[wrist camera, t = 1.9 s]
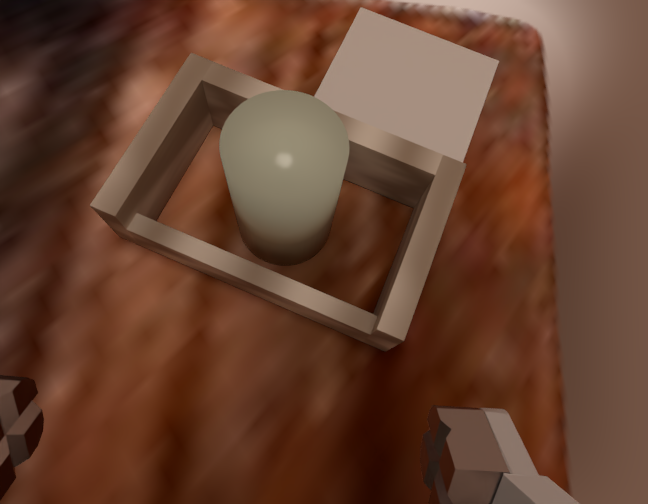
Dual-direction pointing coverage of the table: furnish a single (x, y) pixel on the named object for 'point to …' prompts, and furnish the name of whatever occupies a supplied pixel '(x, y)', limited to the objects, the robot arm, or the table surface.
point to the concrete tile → (408, 83)
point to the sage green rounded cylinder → (284, 173)
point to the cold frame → (142, 228)
